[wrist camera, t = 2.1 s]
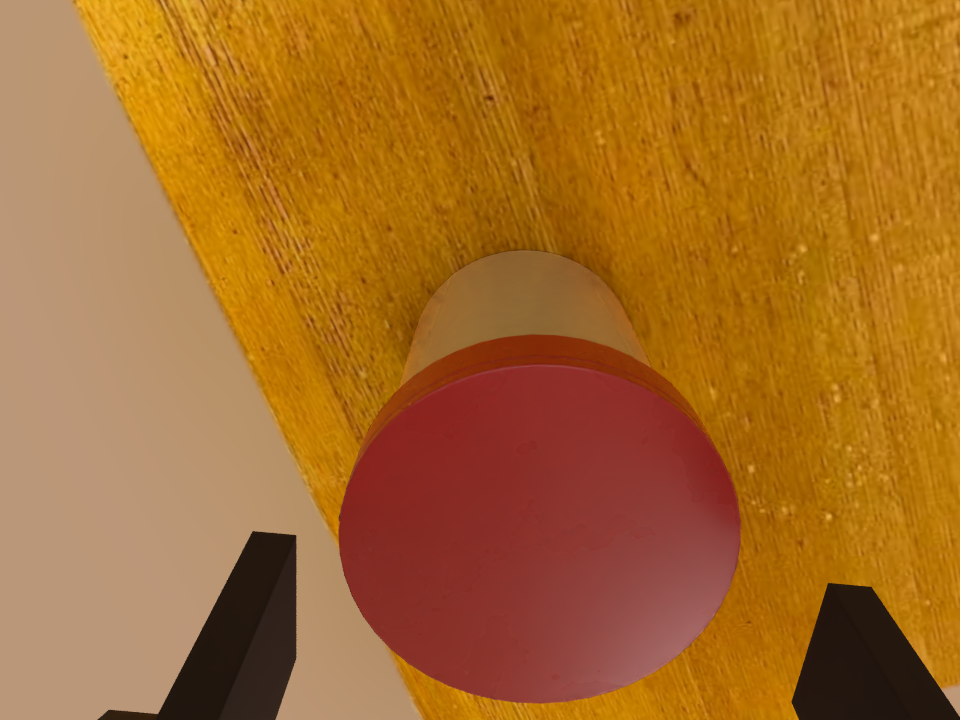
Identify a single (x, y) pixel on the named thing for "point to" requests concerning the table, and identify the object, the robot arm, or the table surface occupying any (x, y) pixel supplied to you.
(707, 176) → the table surface
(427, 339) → the jar
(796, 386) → the table surface
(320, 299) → the table surface
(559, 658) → the jar lid
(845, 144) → the table surface
